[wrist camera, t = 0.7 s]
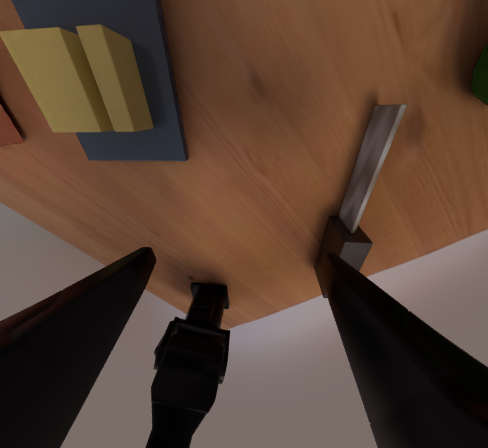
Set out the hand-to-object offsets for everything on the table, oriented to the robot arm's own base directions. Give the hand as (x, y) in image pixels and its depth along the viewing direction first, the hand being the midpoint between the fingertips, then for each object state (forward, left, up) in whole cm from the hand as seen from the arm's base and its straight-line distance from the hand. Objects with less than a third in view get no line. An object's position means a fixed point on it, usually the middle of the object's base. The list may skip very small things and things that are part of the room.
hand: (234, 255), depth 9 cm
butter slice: (+8, +10, -11) cm, 17 cm away
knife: (-3, -11, -12) cm, 17 cm away
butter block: (+8, +14, -11) cm, 20 cm away
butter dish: (+8, +12, -12) cm, 19 cm away
